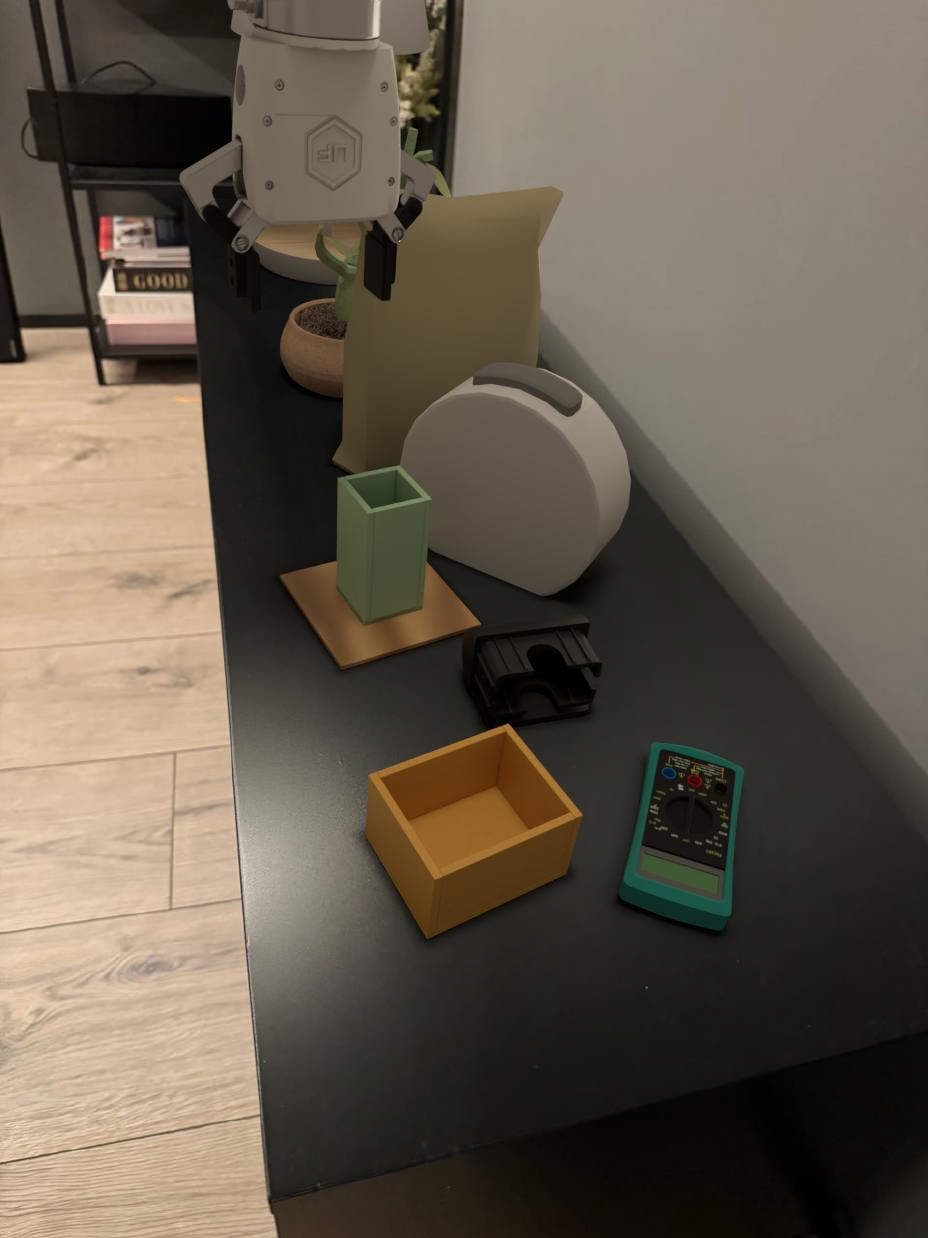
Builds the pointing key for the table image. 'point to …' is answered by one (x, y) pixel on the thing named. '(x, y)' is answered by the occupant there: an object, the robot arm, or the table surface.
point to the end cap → (530, 670)
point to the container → (441, 315)
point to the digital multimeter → (685, 836)
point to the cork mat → (382, 638)
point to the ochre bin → (469, 827)
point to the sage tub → (382, 543)
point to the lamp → (295, 244)
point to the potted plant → (332, 309)
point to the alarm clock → (520, 476)
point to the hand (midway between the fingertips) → (314, 299)
